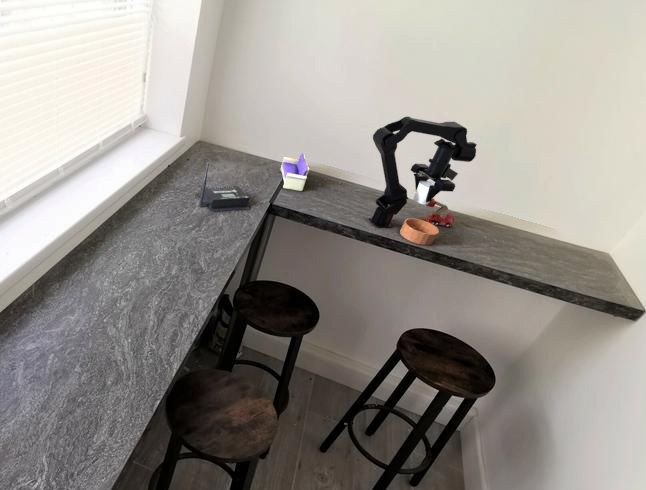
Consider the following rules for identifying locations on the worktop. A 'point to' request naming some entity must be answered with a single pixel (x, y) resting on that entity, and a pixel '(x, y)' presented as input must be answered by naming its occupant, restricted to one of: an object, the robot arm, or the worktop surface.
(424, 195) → the shot glass
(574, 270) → the worktop surface
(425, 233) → the bowl
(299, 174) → the toy sofa
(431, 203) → the toy fire truck
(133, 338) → the worktop surface
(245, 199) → the black wifi router
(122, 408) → the worktop surface
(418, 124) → the robot arm
